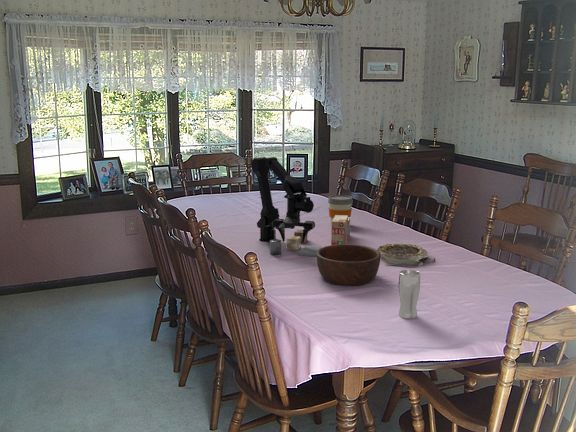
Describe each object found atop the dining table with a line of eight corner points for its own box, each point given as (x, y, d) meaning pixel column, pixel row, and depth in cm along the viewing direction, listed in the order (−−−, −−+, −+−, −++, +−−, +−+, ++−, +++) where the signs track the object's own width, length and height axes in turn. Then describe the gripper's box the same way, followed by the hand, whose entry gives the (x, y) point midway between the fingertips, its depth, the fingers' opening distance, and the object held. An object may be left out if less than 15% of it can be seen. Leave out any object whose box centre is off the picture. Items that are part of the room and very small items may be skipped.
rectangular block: (294, 242, 294) (294, 232, 293) (297, 239, 299) (297, 229, 298) (304, 243, 293) (304, 232, 292) (307, 240, 297) (307, 230, 296)
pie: (362, 264, 263) (362, 252, 262) (377, 247, 288) (378, 237, 287) (429, 271, 253) (430, 260, 252) (439, 254, 278) (440, 243, 277)
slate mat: (297, 255, 274) (298, 253, 274) (305, 247, 285) (305, 246, 285) (324, 257, 270) (324, 255, 270) (331, 249, 282) (331, 248, 281)
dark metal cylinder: (268, 254, 274) (268, 241, 273) (272, 251, 279) (271, 238, 277) (279, 255, 273) (279, 242, 271) (282, 252, 277) (282, 239, 276)
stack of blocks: (337, 234, 307) (337, 210, 304) (349, 235, 306) (350, 211, 303) (331, 246, 287) (331, 220, 284) (344, 247, 286) (345, 221, 283)
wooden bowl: (363, 293, 228) (363, 266, 226) (303, 281, 241) (304, 255, 238) (390, 274, 249) (391, 249, 246) (334, 264, 261) (334, 240, 259)
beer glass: (402, 310, 212) (404, 267, 208) (421, 314, 208) (424, 271, 205) (393, 316, 206) (395, 273, 203) (413, 321, 202) (415, 277, 199)
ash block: (286, 249, 283) (286, 238, 282) (289, 246, 288) (290, 235, 286) (297, 250, 282) (297, 239, 280) (300, 247, 286) (300, 236, 285)
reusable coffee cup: (346, 221, 333) (346, 194, 329) (355, 227, 321) (356, 198, 318) (324, 223, 329) (324, 195, 325) (333, 229, 317) (333, 200, 314)
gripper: (268, 211, 276) (268, 245, 279) (308, 214, 270) (308, 248, 274) (275, 206, 286) (276, 239, 290) (315, 208, 281) (315, 242, 284)
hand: (293, 242), depth 284 cm, fingers open, 9 cm apart
